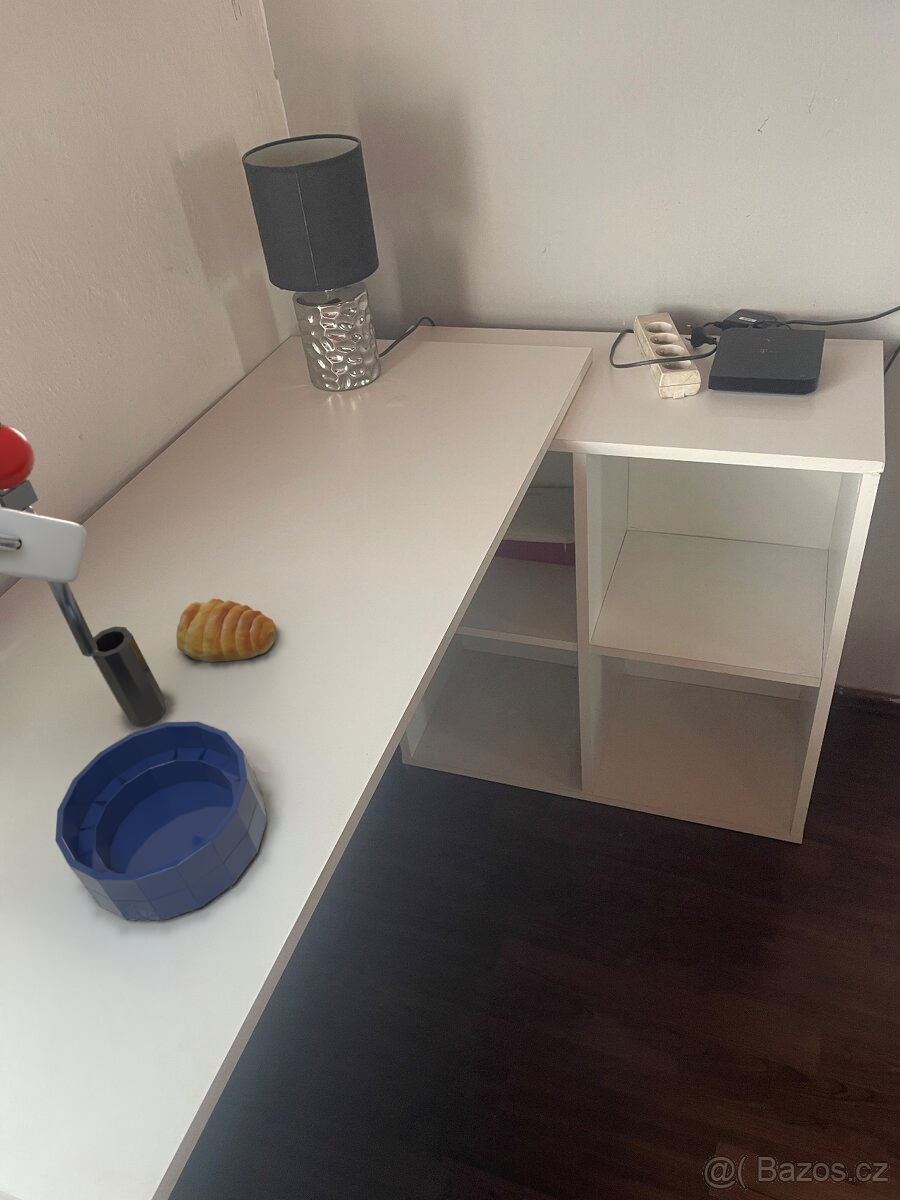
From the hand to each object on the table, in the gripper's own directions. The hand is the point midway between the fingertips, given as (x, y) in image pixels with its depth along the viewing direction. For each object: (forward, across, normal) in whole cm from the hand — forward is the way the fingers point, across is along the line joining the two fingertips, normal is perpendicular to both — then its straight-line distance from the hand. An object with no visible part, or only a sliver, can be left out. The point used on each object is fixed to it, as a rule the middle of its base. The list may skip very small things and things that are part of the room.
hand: (37, 543), depth 60 cm
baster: (+7, 0, +8) cm, 10 cm away
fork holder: (+19, +4, +14) cm, 24 cm away
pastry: (+26, +3, +6) cm, 27 cm away
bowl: (+12, -7, +21) cm, 25 cm away
